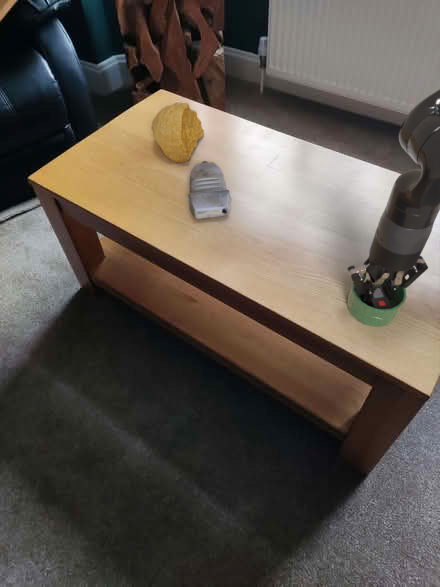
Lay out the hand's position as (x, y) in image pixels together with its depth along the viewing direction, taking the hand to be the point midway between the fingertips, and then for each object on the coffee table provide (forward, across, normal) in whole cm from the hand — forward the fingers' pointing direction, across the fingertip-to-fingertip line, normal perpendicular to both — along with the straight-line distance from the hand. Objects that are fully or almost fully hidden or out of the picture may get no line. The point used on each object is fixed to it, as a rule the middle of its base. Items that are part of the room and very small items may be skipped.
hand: (374, 300), depth 80 cm
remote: (0, 0, 0) cm, 0 cm away
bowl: (+2, 0, 0) cm, 2 cm away
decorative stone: (+2, -32, +59) cm, 67 cm away
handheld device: (+2, -27, +38) cm, 47 cm away
